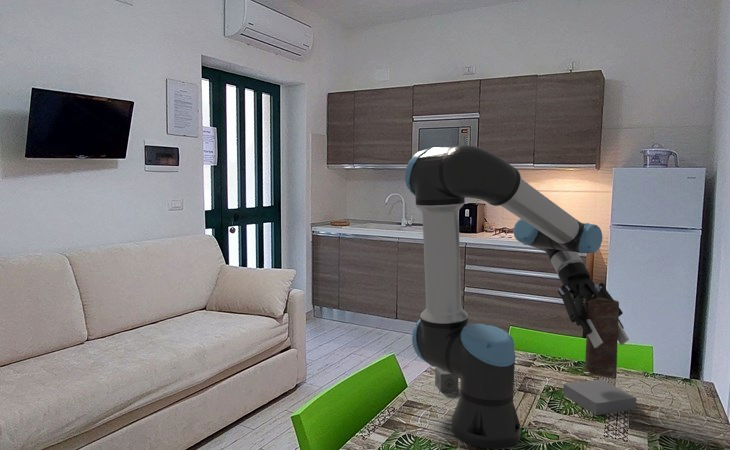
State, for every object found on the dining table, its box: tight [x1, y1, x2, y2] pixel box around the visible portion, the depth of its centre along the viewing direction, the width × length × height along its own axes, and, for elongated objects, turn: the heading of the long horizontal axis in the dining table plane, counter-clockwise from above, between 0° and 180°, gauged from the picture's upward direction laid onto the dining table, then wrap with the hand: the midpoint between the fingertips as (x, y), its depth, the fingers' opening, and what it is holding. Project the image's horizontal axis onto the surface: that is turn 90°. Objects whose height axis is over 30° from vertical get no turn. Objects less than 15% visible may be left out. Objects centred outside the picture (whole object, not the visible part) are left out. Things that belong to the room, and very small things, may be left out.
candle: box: [584, 298, 620, 380], centre depth 124 cm, size 8×7×20 cm
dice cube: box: [434, 367, 459, 393], centre depth 134 cm, size 5×5×5 cm
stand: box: [562, 378, 637, 416], centre depth 125 cm, size 12×12×3 cm
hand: (611, 343), depth 121 cm, fingers closed on candle, 7 cm apart
